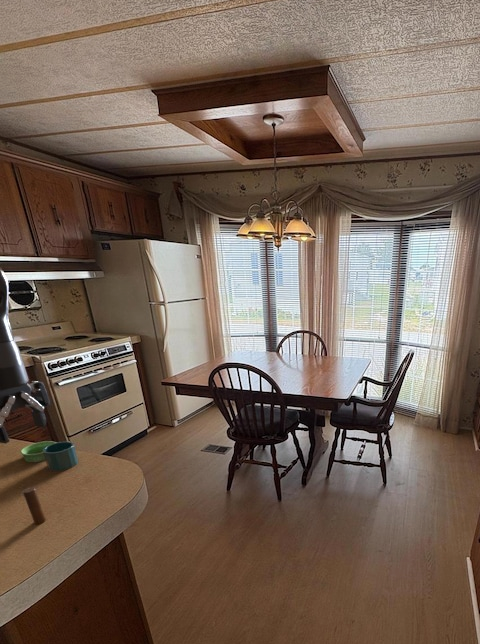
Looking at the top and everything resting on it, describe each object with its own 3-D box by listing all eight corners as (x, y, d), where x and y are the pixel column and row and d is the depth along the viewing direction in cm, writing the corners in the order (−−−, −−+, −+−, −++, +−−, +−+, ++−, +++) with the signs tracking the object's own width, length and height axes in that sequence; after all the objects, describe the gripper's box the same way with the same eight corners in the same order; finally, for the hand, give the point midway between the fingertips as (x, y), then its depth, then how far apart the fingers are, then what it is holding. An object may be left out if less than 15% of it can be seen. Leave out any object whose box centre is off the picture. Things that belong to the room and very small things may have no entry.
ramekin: (30, 455, 110) (26, 443, 108) (64, 451, 113) (60, 439, 111) (20, 469, 102) (16, 456, 100) (57, 464, 106) (53, 451, 104)
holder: (43, 473, 100) (35, 451, 98) (65, 461, 107) (59, 440, 104) (64, 477, 99) (58, 454, 96) (85, 464, 106) (79, 443, 103)
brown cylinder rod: (31, 523, 81) (20, 492, 78) (40, 517, 83) (29, 486, 80) (39, 525, 81) (28, 493, 77) (48, 519, 83) (37, 487, 79)
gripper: (17, 354, 77) (38, 420, 83) (-58, 370, 64) (-26, 446, 70) (46, 356, 76) (65, 423, 82) (-24, 373, 63) (5, 450, 69)
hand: (23, 434), depth 76 cm, fingers open, 8 cm apart
